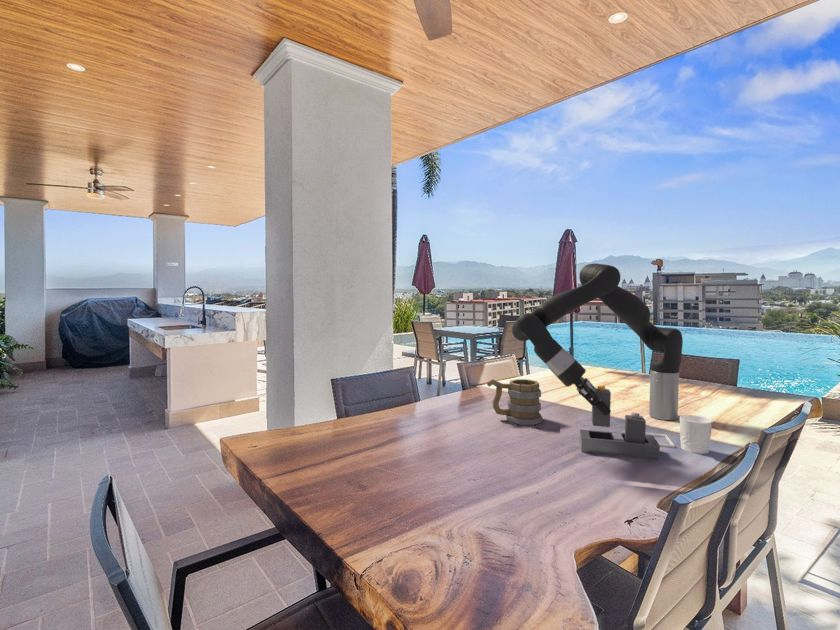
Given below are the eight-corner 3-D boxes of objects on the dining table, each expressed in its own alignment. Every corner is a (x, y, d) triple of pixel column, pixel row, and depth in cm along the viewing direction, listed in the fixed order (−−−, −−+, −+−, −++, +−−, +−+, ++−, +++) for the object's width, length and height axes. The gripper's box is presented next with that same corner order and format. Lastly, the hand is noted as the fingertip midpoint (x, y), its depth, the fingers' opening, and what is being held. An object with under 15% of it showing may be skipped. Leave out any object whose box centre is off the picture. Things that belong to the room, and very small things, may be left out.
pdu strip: (579, 445, 130) (579, 428, 129) (652, 452, 124) (653, 434, 123) (581, 455, 122) (581, 437, 122) (659, 463, 116) (659, 444, 116)
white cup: (695, 459, 119) (697, 424, 118) (672, 449, 126) (673, 416, 126) (717, 456, 121) (718, 421, 120) (693, 446, 128) (694, 413, 128)
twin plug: (624, 448, 124) (625, 410, 123) (641, 450, 123) (642, 412, 122) (627, 454, 120) (628, 415, 119) (644, 455, 119) (645, 416, 118)
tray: (631, 436, 137) (631, 431, 137) (666, 439, 134) (666, 434, 134) (637, 447, 127) (637, 442, 127) (674, 451, 125) (675, 445, 124)
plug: (591, 421, 126) (592, 384, 126) (608, 422, 125) (609, 385, 124) (592, 425, 122) (593, 387, 121) (609, 427, 121) (610, 388, 120)
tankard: (538, 414, 161) (538, 375, 160) (544, 425, 149) (545, 383, 148) (485, 413, 163) (485, 375, 162) (487, 424, 151) (487, 382, 150)
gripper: (573, 362, 119) (620, 409, 115) (575, 355, 132) (617, 397, 128) (553, 380, 121) (598, 426, 117) (557, 371, 134) (597, 412, 130)
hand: (608, 410), depth 123 cm, fingers closed on plug, 4 cm apart
